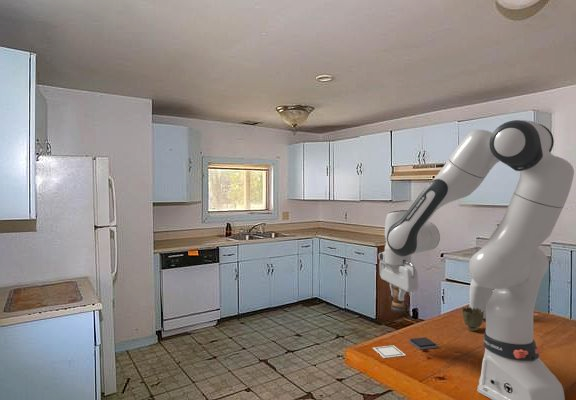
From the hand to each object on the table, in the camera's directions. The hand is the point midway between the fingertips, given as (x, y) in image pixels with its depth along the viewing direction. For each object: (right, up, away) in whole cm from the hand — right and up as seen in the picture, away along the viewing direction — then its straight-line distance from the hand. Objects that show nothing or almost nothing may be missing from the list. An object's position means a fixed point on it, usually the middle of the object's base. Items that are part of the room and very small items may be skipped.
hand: (397, 298), depth 126 cm
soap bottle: (+45, -17, +31) cm, 58 cm away
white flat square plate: (-3, -18, -2) cm, 18 cm away
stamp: (0, -4, 0) cm, 4 cm away
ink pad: (+10, -17, +4) cm, 20 cm away
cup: (+34, -17, +17) cm, 42 cm away
